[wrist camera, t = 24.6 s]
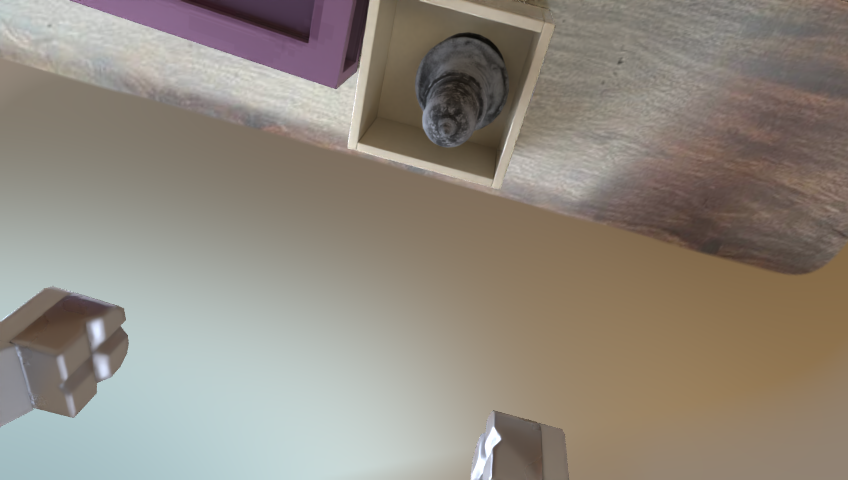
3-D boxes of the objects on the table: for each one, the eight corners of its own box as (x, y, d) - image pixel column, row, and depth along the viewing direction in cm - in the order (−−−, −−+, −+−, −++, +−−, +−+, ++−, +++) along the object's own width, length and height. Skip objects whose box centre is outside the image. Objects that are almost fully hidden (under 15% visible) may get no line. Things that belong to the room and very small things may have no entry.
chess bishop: (528, 61, 34) (532, 117, 24) (477, 131, 37) (461, 208, 27) (454, 8, 33) (425, 44, 23) (407, 85, 36) (364, 146, 26)
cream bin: (550, 9, 33) (555, 24, 28) (502, 155, 38) (500, 190, 33) (395, -32, 33) (372, -24, 28) (370, 119, 39) (347, 148, 34)
